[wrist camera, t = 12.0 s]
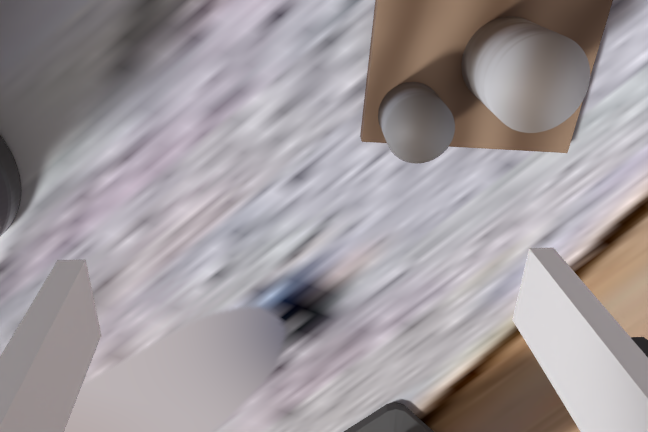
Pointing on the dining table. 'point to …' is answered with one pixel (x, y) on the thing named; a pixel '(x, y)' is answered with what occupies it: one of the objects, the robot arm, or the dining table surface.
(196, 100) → the dining table surface
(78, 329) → the robot arm
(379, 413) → the lantern
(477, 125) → the carrier board
